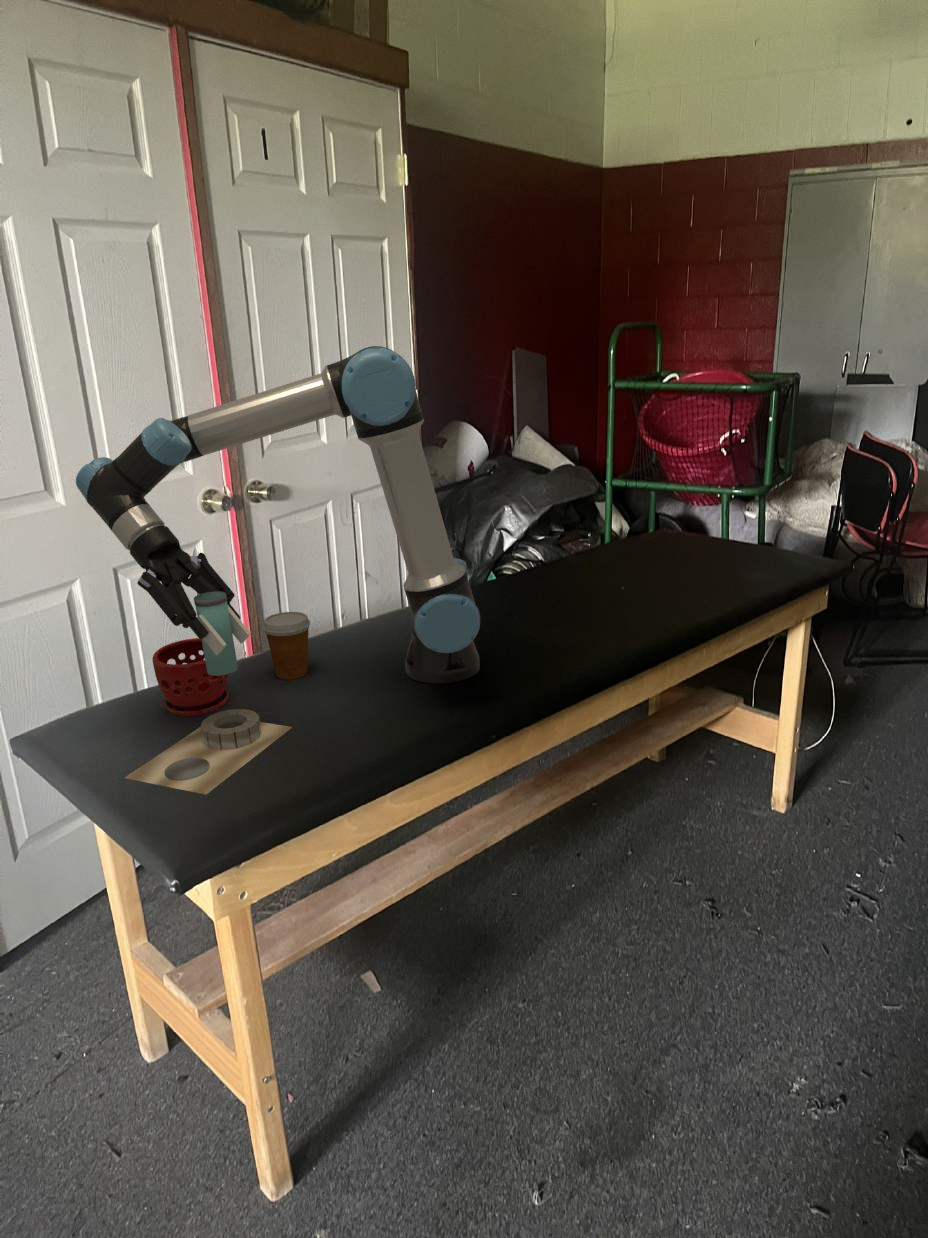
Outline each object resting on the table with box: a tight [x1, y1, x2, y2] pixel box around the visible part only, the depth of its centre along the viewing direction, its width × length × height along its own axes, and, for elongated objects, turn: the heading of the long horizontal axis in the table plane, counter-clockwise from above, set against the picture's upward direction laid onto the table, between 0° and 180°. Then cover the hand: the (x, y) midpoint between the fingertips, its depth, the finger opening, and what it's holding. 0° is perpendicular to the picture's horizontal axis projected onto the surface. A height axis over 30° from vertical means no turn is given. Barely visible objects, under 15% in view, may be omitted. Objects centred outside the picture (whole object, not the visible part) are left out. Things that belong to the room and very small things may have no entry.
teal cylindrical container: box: [193, 591, 239, 676], centre depth 146 cm, size 5×5×13 cm
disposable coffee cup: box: [262, 611, 311, 680], centre depth 179 cm, size 10×10×12 cm
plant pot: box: [152, 637, 230, 717], centre depth 165 cm, size 13×13×12 cm
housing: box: [124, 708, 293, 796], centre depth 148 cm, size 16×24×4 cm, turn 158°
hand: (233, 643), depth 145 cm, fingers closed on teal cylindrical container, 5 cm apart
